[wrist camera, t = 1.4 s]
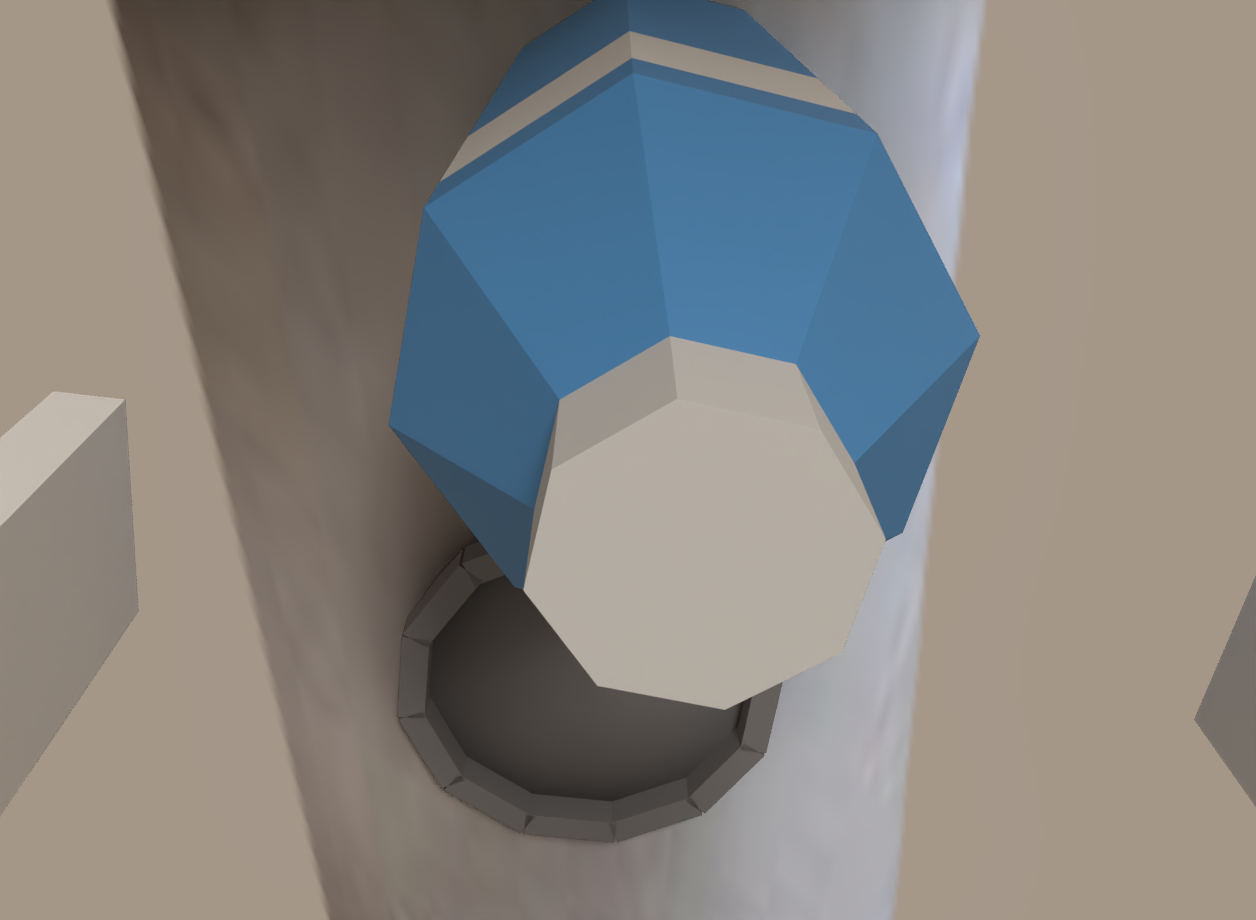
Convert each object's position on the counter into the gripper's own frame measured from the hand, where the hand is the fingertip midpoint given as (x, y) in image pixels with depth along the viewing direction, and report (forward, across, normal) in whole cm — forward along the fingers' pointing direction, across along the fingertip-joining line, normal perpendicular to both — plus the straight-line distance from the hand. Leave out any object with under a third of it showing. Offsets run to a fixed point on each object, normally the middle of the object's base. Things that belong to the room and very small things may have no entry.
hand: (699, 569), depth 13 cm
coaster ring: (+25, 0, -20) cm, 32 cm away
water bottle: (+25, 0, 0) cm, 25 cm away
